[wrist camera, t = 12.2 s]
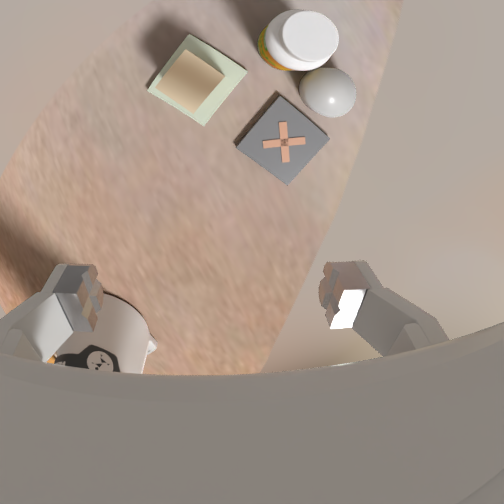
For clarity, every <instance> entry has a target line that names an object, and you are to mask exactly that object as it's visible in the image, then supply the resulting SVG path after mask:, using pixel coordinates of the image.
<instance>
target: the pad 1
mask: <svg viewBox="0 0 504 504" xmlns="http://www.w3.org/2000/svg"><path fill="white" fill-rule="evenodd" d="M185 49H186V50H188V51H190V52H192V53H193V54H195V55H196V56H198V57H199V58H201V59H202V60H203V61H205V62H206V63H208V64H209V65H211V66H212V67H213V68H215V69H216V70H218V71H219V72H220V73H222V74H223V75H224V76H225V77H224V78H223V79H222V81H221V82H220V83H219V84H218V85H217V86H216V87H215V89H214V90H213V91H212V92H211V93H210V94H209V96H208V97H207V98H206V99H205V100H204V101H203V103H202V104H201V105H200V106H199V108H198V109H197V110H196V111H195V112H194V114H193V113H191V112H190V111H188V110H187V109H186V108H184V107H183V106H181V105H180V104H178V103H177V102H175V101H174V100H172V99H171V98H170V97H168V96H167V95H165V94H164V93H162V92H161V91H159V90H158V89H156V88H155V87H156V85H157V84H158V83H159V81H160V80H161V79H162V77H163V76H164V75H165V74H166V72H167V71H168V70H169V69H170V67H171V66H172V65H173V64H174V62H175V61H176V60H177V59H178V58H179V56H180V55H181V54H182V53H183V52H184V50H185ZM247 72H248V71H246V70H245V69H243V68H242V67H240V66H239V65H238V64H236V63H235V62H233V61H232V60H230V59H229V58H227V57H226V56H224V55H223V54H221V53H220V52H218V51H217V50H215V49H213V48H212V47H210V46H209V45H207V44H205V43H204V42H202V41H200V40H199V39H197V38H195V37H194V36H192V35H190V34H189V35H188V36H187V37H186V38H185V40H184V41H183V42H182V43H181V45H180V46H179V47H178V48H177V50H176V51H175V52H174V54H173V55H172V56H171V57H170V59H169V60H168V62H167V63H166V64H165V66H164V67H163V68H162V70H161V71H160V73H159V74H158V75H157V77H156V78H155V80H154V81H153V83H152V84H151V86H150V87H149V89H148V90H147V91H148V92H150V93H152V94H153V95H155V96H157V97H158V98H160V99H162V100H163V101H165V102H167V103H168V104H170V105H172V106H173V107H175V108H176V109H178V110H180V111H181V112H183V113H184V114H186V115H187V116H189V117H191V118H192V119H194V120H195V121H197V122H198V123H200V124H201V125H203V126H205V124H206V123H207V122H208V120H209V119H210V118H211V116H212V115H213V114H214V113H215V111H216V110H217V109H218V107H219V106H220V105H221V104H222V102H223V101H224V100H225V99H226V97H227V96H228V95H229V94H230V92H231V91H232V90H233V89H234V88H235V86H236V85H237V84H238V83H239V82H240V80H241V79H242V78H243V77H244V76H245V75H246V73H247Z"/></svg>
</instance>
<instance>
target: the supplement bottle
mask: <svg viewBox="0 0 504 504" xmlns="http://www.w3.org/2000/svg"><path fill="white" fill-rule="evenodd" d="M338 42H339V36H338V31H337V29H336V27H335V25H334V23H333V22H332V21H331V20H330V19H329V18H328V17H326V16H325V15H323V14H321V13H319V12H315V11H309V10H299V9H296V10H289V11H285V12H283V13H281V14H279V15H277V16H276V17H275V18H274V19H273V20H272V21H271V22H270V23H269V24H268V25H267V26H266V27H265V28H264V29H263V31H262V32H261V34H260V35H259V38H258V43H257V46H258V52H259V54H260V56H261V58H262V59H263V60H264V61H265V62H266V63H267V64H268V65H270V66H271V67H273V68H276V69H279V70H297V71H306V70H312V69H315V68H318V67H320V66H321V65H323V64H324V63H325V62H326V61H327V60H328V59H329V58H330V57H331V55H332V54H333V53H334V52H335V50H336V48H337V46H338Z"/></svg>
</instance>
